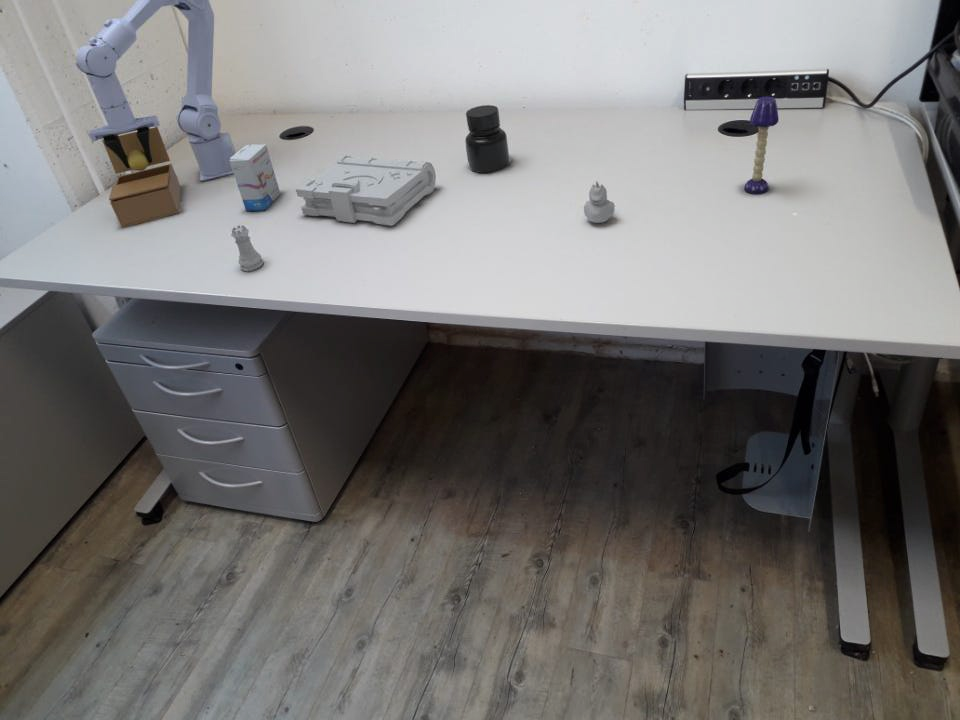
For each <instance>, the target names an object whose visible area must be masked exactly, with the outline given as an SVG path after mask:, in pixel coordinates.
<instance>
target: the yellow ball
mask: <svg viewBox="0 0 960 720" xmlns="http://www.w3.org/2000/svg"><path fill="white" fill-rule="evenodd" d="M127 162H128V164H129V166H130V167H131V168H132V169H134V171H136V172H139V171H143V170H147V169H148V167H149V166H148V165H149V162H148V160H147V158H146V155H145V152H143V151H141V150H133V151H131V152H130V153H129V154H128V156H127Z"/></svg>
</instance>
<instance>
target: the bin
mask: <svg viewBox="0 0 960 720" xmlns="http://www.w3.org/2000/svg"><path fill="white" fill-rule="evenodd" d="M181 193H182V185H181V183H180V181H179V179H178V176H177V173H176V171H175V169H174V167H173V163H168V164H164V165H160V166H159V165H158V166H155V167H152V168H146V169H144V170H142V171H135V172H131V173H127V174H122V175H119V176H116V179H115V183H114V185H112V186H111V191H110V193H109V196H108V200H109V201H110V202H109V203H110V206H111V207H112V210H113V212H114V214H115V216H116V218H117V220H118V222H119V224H120V227H121V228H125V227H130V226H133V225H134V226H135V225H138V224H141V223H142V224H143V223H146V222H151V221H154V220H157V219H161V218H167V217H170V216H174V215H178V214H180V208H181V207H180V205H181Z"/></svg>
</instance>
